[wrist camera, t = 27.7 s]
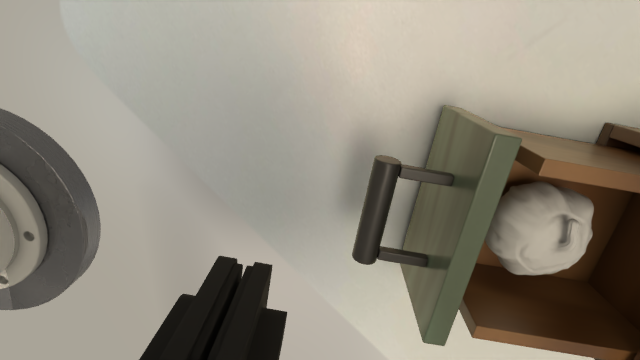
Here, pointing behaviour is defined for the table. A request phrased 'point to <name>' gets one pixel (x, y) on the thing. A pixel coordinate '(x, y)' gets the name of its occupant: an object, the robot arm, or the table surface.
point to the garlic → (540, 228)
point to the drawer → (482, 263)
